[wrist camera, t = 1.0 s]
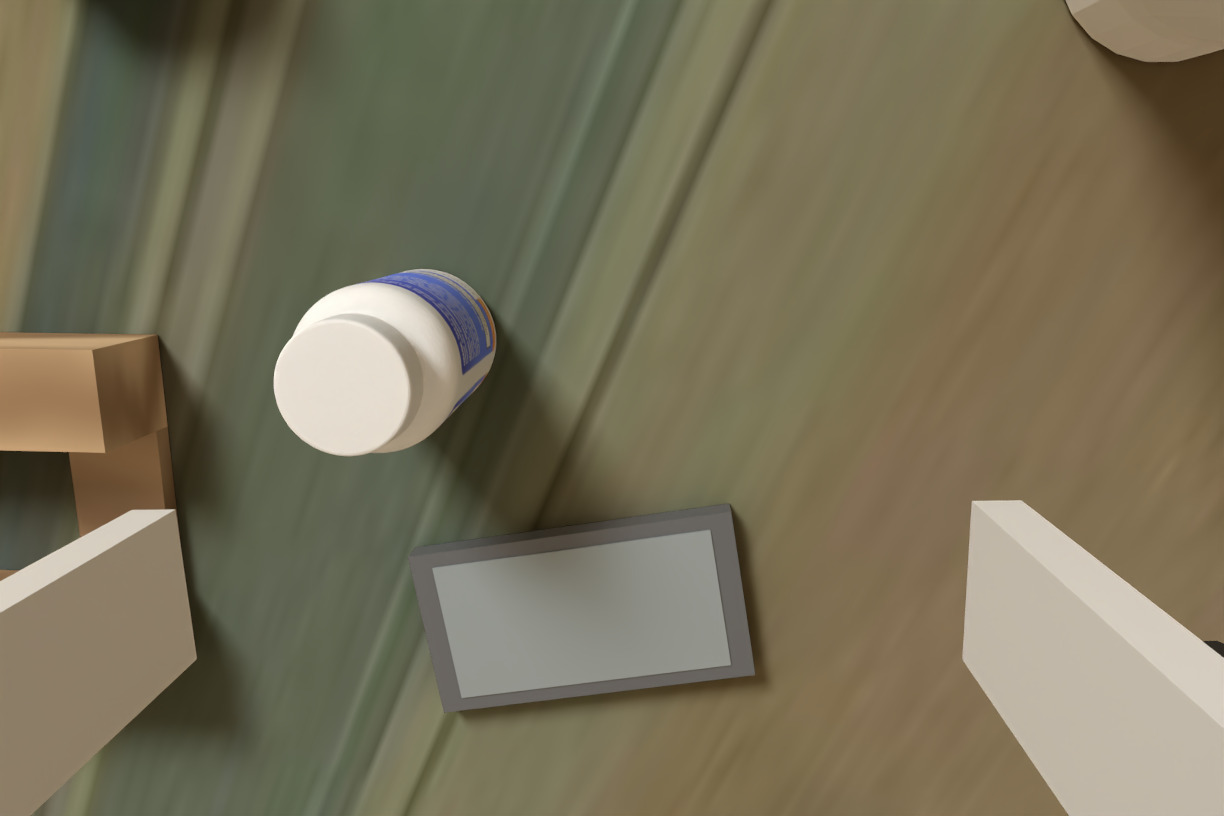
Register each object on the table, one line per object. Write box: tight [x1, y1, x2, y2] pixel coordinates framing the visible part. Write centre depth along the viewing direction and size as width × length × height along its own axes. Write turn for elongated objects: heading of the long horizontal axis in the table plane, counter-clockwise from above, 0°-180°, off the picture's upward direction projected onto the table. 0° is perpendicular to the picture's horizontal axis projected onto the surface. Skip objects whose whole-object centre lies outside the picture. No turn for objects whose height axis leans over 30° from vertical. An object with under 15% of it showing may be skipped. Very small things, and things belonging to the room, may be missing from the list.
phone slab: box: [408, 504, 755, 713], centre depth 35 cm, size 7×13×1 cm, turn 100°
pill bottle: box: [274, 269, 496, 456], centre depth 29 cm, size 5×5×10 cm
